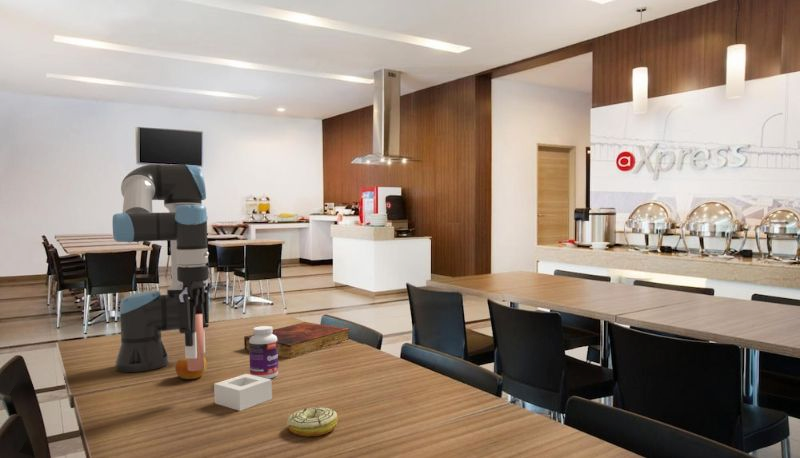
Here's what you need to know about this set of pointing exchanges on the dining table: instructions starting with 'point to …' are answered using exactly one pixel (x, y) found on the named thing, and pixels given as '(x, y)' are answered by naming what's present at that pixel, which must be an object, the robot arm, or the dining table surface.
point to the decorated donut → (312, 421)
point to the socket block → (243, 391)
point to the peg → (198, 346)
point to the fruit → (183, 369)
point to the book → (305, 338)
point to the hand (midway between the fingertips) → (195, 355)
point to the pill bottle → (263, 352)
